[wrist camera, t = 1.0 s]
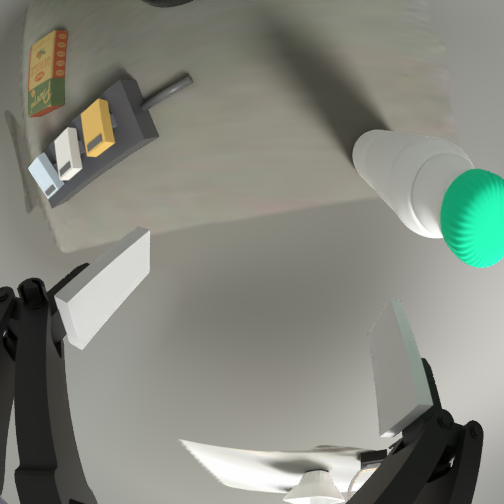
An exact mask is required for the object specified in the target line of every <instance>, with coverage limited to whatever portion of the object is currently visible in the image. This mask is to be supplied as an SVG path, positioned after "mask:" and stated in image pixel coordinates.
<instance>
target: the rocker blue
mask: <svg viewBox="0 0 504 504" xmlns="http://www.w3.org/2000/svg"><path fill="white" fill-rule="evenodd" d="M28 169H29V171H30V172H31V174H32V175H33V177H34V179H35V180H36V182H37V183H38V185H39V186H40V188H41V189H42V191H43V192H44V194H45V195H46V197H47V198H48V199H49V198H50V197H51V196H52V195H53V194H54V193H55V192H57V191H58V190H59V189H60V188H61V187H62V186H63V185H64V182H63V181H62V180H60V179H59V175H58V173H57V172H56V170H55V169H54V167H53V165H52V164H51V162H50V161H49V159H48V158H47V156H46V154H45V153H42V154H41V155H39V156H38V157H37V158H36V159H35V160H34V162H33V163H32V164H31V165H30V167H29V168H28Z"/></svg>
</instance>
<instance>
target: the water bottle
mask: <svg viewBox="0 0 504 504" xmlns="http://www.w3.org/2000/svg"><path fill="white" fill-rule="evenodd" d="M352 156H353V163H354V166H355V169H356V170H357V172H358V173H359V175H360V176H361V177H362V178H363V179H364V180H365V181H366V182H367V183H368V184H369V185H370V186H371V187H372V188H374V189H375V191H376V192H377V193H378V194H379V195H380V197H381V198H382V199H383V200H384V201H385V202H386V203H387V204H388V205H389V206H390V207H391V208H392V209H393V210H394V211H395V212H396V214H397V215H398V217H399V218H400V220H401V221H402V222H403V223H404V224H405V225H406V226H407V227H408V228H409V229H411V230H412V231H414V232H415V233H417V234H419V235H422V236H425V237H430V238H444V240H445V242H446V243H447V245H448V246H449V248H450V249H451V251H452V252H453V253H454V254H455V255H456V256H457V257H458V258H459V259H460V260H462V261H463V262H465V263H466V264H468V265H471V266H473V267H478V268H481V267H484V268H485V267H487V266H492V265H493V264H496V263H497V262H498V261H499V260H501V259H502V258H503V256H504V179H502V178H501V177H500V176H498V175H496V174H494V173H491V172H489V171H486V170H482V169H475V168H474V166H473V164H472V162H471V160H470V159H469V157H468V156H467V155H466V154H465V152H464V151H463V150H462V149H461V148H460V147H458V146H457V145H456V144H454V143H453V142H451V141H449V140H447V139H444V138H440V137H432V136H431V137H426V136H423V135H418V134H413V133H403V132H394V131H385V130H371V131H368V132H366V133H364V134H363V135H361V136H360V137H359V138H358V140H357V141H356V143H355V145H354V148H353V154H352Z"/></svg>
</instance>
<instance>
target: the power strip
mask: <svg viewBox="0 0 504 504" xmlns="http://www.w3.org/2000/svg"><path fill="white" fill-rule="evenodd" d="M192 83H193V80H192V78H191V77H190V76H187V77H185V78H184V79H182V80H180V81H178V82H177V83H175V84H173V85H171V86H170V87H168V88H166V89H165V90H163V91H162V92H160V93H158V94H157V95H155V96H154V97H152V98H150V99H149V100H147V101H146V102H145V101H144V99H143V97H142V94H141V92H140V89H139V87H138V84H137V82H136V81H133V80H125V79H119V80H118V81H117V82H116V83H114V84H113V85H112V86H111V87H109V88H108V89H107V90H106V91H104V92H103V93H102V94H101V95H100V96H99V97H97V98H96V99H95V100H94V101H93V102H92V103H91V104H89V105H88V106H87V107H86V108H85V109H84V110H83V111H82V112H81V113H80V114H79V115H78V116H77V117H75V118H74V119H73V120H72V121H71V122H70V123H69V124H68V125H67V126H66V127H65V128H64V129H63V131H64V130H65V129H66V128H67V127H69V128H76V131H77V138H78V145H79V152H80V158H81V163H82V169H81V170H80V171H79V172H77V173H76V174H75V175H74V176H73V177H72V178H71V179H69V180H62V181H63V182H64V185H63V186H62V187H61V188H60V189H59V190H58V191H57V192H55V193H54V194H53V195H52V196H51V197H50V198H49V199H48V200H49V202H50V205H51V207H52V208H54V207H56V206H58V205H60V204H62V203H64V202H66V201H68V200H69V199H70V198H71V197H73V196H74V195H75V194H76V193H78V192H79V191H80V190H81V189H83V188H84V187H85V186H87V185H88V184H89V183H91V182H92V181H93V180H95V179H96V178H97V177H99V176H100V175H101V174H103V173H104V172H106V171H107V170H108V169H110V168H111V167H113V166H114V165H116V164H117V163H119V162H120V161H122V160H123V159H125V158H126V157H128V156H129V155H131V154H132V153H134V152H135V151H137V150H138V149H140V148H142V147H143V146H145V145H147V144H148V143H150V142H152V141H153V140H155V139H157V138H158V137H159V135H158V132H157V130H156V128H155V125H154V123H153V121H152V118H151V116H150V114H149V111H148V109H149V108H151V107H152V106H154V105H156V104H157V103H159V102H160V101H162V100H164V99H165V98H167V97H169V96H170V95H172V94H174V93H176V92H177V91H179V90H181V89H183V88H184V87H186V86H188V85H190V84H192ZM97 99H102V100H106V101H108V107H109V113H110V119H111V124H112V130H113V135H114V140H115V143H114V144H113V145H112V146H110V147H109V148H108V149H106V150H105V151H104V152H102V153H101V154H100V155H98V156H97V157H89V156H87V153H86V147H85V141H84V135H83V128H82V120H81V114H82V113H83V112H84V111H85V110H86V109H87V108H88V107H89V106H90V105H92V104H93V103H94V102H95V101H96V100H97ZM63 131H62V132H63ZM62 132H61V133H62ZM61 133H60V134H59V135H58V136H57V137H56V138H55V139H54V140H53V141H52V142H51V143H50V145H49V146H48V147H47V148H46V149H45V150H44V151H43V153H45V154H46V156H47V158H48V159H49V161H50V162H51V164H52V165H53V167H54V169H55V170H56V172H57V173H58V175H59V172H58V166H57V159H56V151H55V142H54V141H55V140H56V139H57V138H58V137H59V136H60V135H61Z"/></svg>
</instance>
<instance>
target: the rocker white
mask: <svg viewBox="0 0 504 504" xmlns="http://www.w3.org/2000/svg"><path fill="white" fill-rule="evenodd" d="M54 142H55V151H56V159H57V166H58V172H59V179H60V180H69V179H71V178H72V177H73V176H74V175H75V174H76V173H77V172H79V171H80V170H81V169H82V163H81V158H80V152H79V145H78V138H77V131H76V128H69V127H67V128H66V129H65V130H64V131H63V132H62V133H61V135H60V136H59V137H58V138H57V139H56V140H55V141H54Z"/></svg>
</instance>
